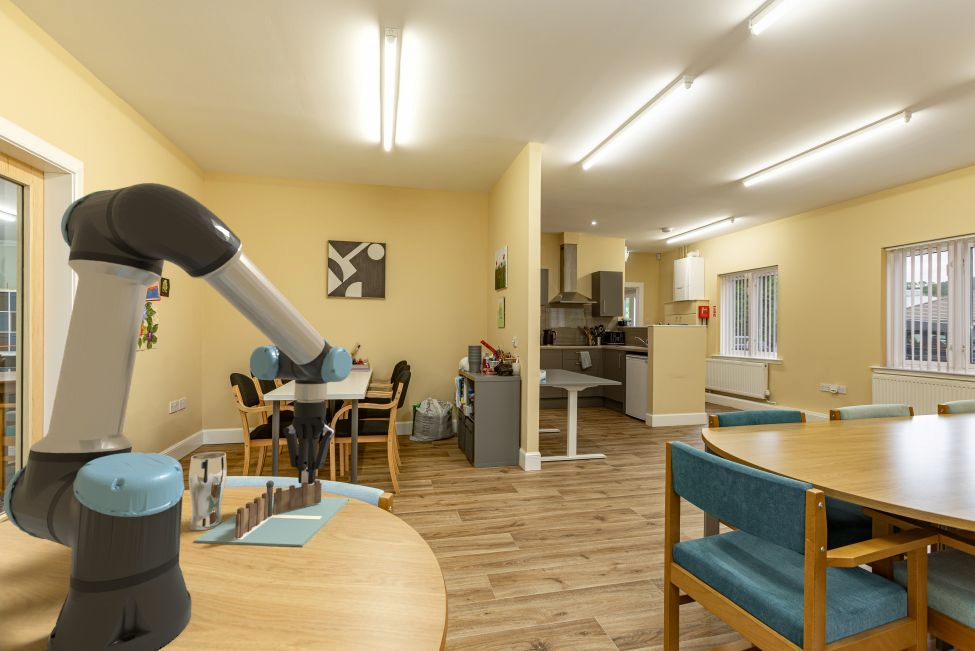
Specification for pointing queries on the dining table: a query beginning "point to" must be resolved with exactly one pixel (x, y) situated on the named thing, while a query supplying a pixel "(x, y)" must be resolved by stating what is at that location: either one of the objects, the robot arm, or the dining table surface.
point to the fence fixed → (254, 512)
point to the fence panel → (297, 497)
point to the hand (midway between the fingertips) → (306, 496)
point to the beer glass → (207, 489)
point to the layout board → (279, 526)
